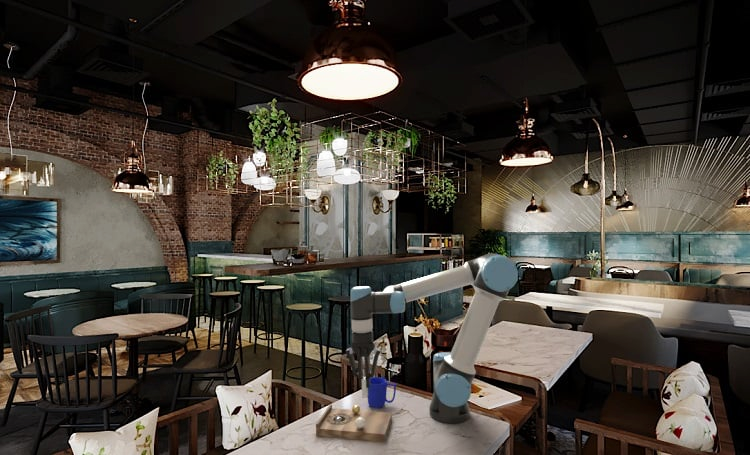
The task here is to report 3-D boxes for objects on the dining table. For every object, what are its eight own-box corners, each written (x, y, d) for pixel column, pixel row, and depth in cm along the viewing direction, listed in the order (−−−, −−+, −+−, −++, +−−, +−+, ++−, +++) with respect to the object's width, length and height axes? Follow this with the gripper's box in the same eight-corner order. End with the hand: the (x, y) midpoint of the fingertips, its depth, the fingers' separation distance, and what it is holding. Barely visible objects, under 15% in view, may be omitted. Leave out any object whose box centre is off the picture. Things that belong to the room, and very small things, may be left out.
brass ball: (360, 412, 150) (360, 404, 150) (359, 415, 147) (359, 407, 147) (353, 411, 151) (353, 403, 151) (351, 415, 148) (351, 407, 148)
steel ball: (338, 413, 146) (333, 420, 147) (336, 417, 143) (331, 424, 144) (345, 419, 146) (340, 425, 146) (343, 423, 143) (338, 430, 143)
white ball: (366, 426, 139) (366, 415, 139) (364, 430, 136) (363, 420, 136) (356, 425, 140) (356, 415, 140) (354, 430, 136) (353, 419, 137)
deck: (391, 419, 149) (391, 408, 149) (384, 441, 133) (384, 429, 133) (330, 414, 154) (330, 404, 154) (316, 435, 138) (315, 424, 138)
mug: (394, 411, 156) (394, 385, 156) (364, 409, 158) (364, 383, 158) (397, 402, 164) (397, 378, 164) (368, 400, 166) (368, 376, 166)
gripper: (382, 327, 146) (384, 392, 145) (347, 327, 148) (350, 391, 148) (378, 332, 138) (381, 401, 138) (341, 332, 141) (344, 400, 141)
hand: (365, 396), depth 143 cm, fingers closed
